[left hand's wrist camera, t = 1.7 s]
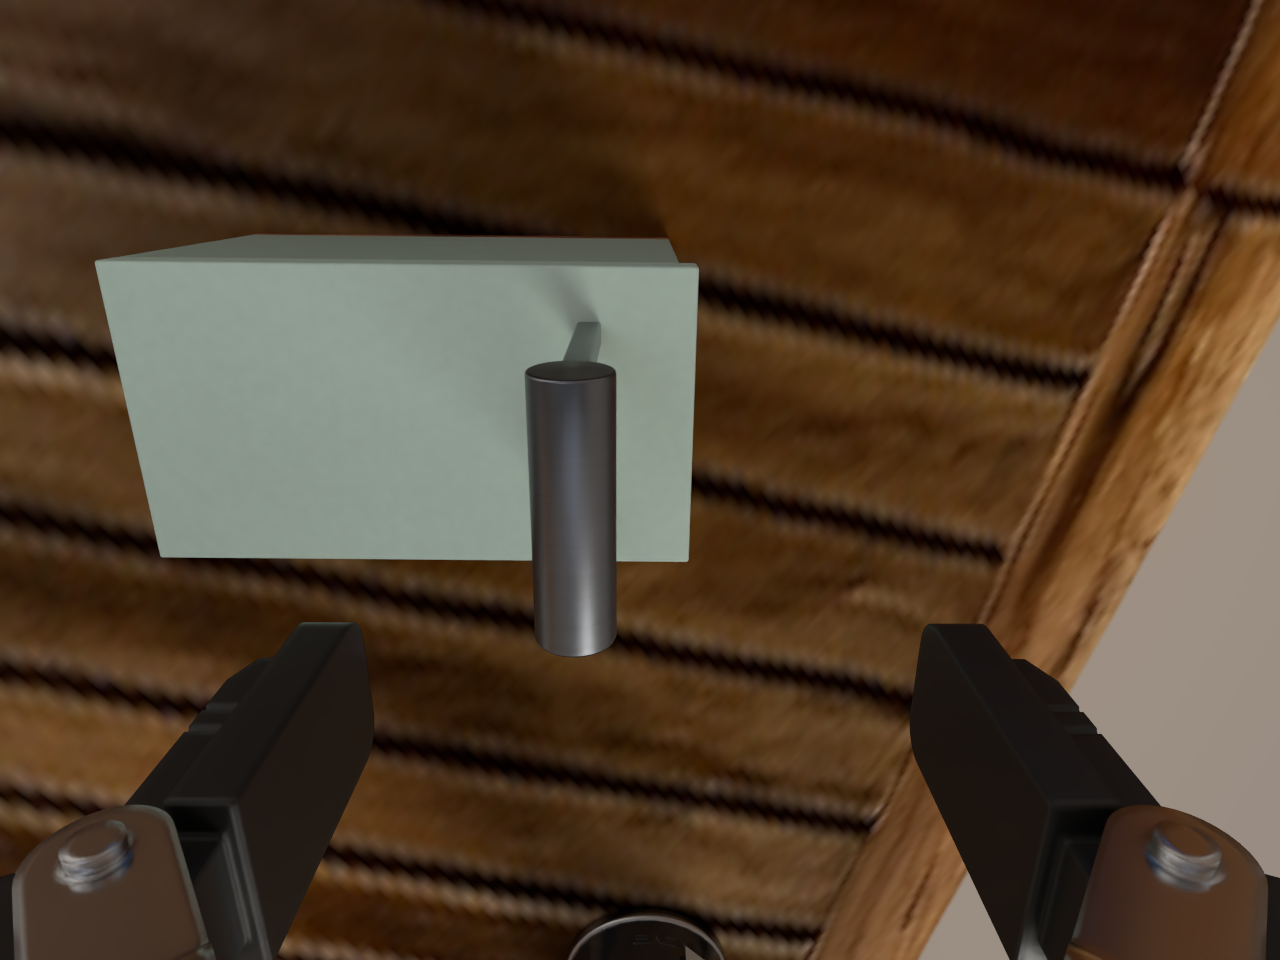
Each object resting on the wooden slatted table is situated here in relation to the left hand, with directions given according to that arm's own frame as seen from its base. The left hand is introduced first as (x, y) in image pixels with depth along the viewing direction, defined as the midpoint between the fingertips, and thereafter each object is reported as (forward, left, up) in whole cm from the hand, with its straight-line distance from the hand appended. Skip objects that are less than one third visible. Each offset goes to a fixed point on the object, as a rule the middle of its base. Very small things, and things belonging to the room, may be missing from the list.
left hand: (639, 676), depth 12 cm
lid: (-3, +6, -15) cm, 16 cm away
